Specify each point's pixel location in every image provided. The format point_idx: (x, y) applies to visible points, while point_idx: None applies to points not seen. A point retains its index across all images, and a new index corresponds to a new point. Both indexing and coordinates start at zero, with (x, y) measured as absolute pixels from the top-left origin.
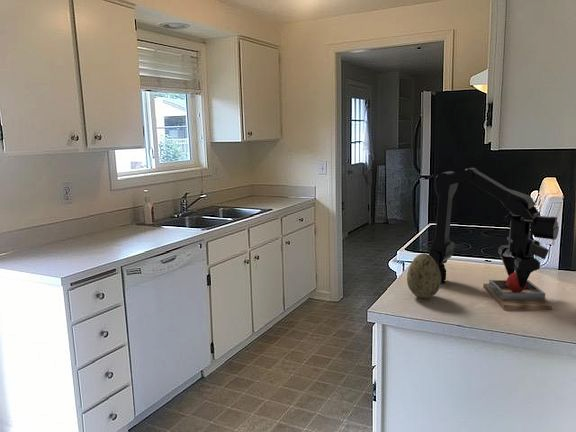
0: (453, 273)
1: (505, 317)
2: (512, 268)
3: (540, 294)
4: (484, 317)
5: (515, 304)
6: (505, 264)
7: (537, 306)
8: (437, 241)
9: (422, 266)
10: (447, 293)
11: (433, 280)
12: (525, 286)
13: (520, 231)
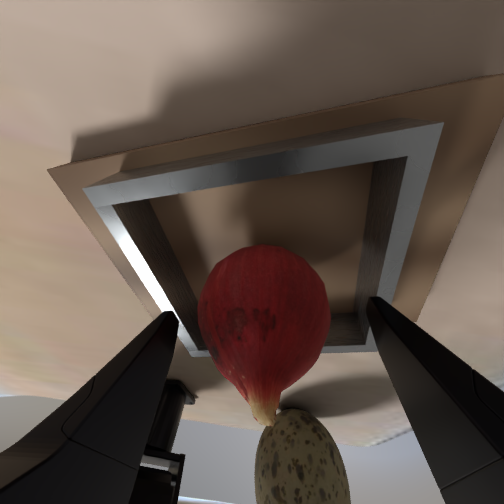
0: (70, 358)
1: (481, 311)
2: (134, 384)
3: (422, 166)
4: (455, 353)
5: (418, 286)
6: (143, 450)
7: (467, 188)
8: None
9: None
10: None
11: (347, 489)
12: (295, 258)
13: None
